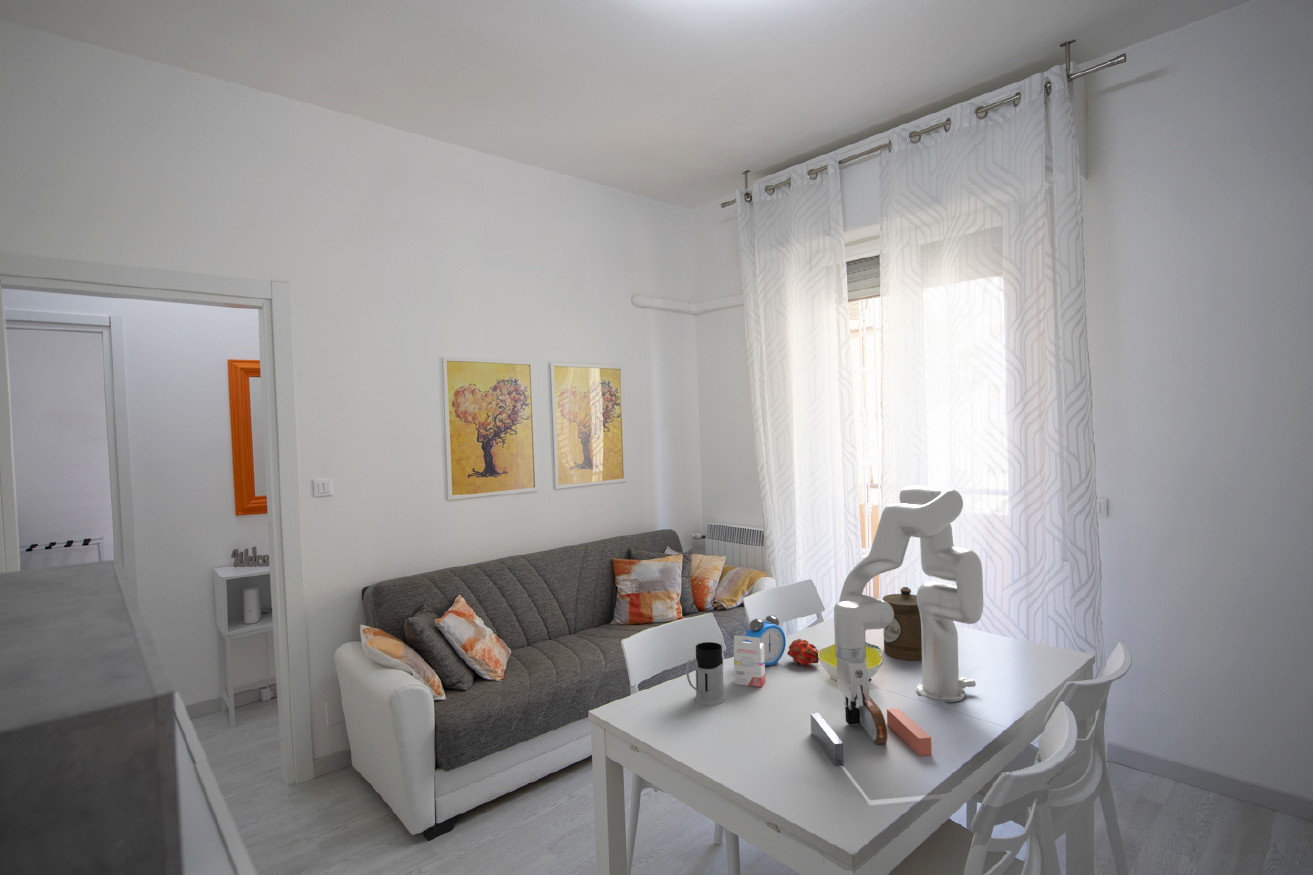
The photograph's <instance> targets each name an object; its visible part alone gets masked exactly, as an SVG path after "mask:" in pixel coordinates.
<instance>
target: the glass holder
mask: <svg viewBox="0 0 1313 875" xmlns="http://www.w3.org/2000/svg"><path fill="white" fill-rule="evenodd" d="M692 660H694V664H695V685H694V684H693V683H692V681H691V678H690V674H689V673H690V672H689V665H690V663H691V661H692ZM685 674H686V679H687V682H688V683H689V686H690V687H691V688H692V689H694V691H695V692H696V693H695V696H694V701H695V702H696V703H698V704H700V705H703V706H704V705H705V706H717V705H721V704H723V703H724V702H725V701H726V696H725V694H724V693H725V692H724V691H725V690H724V689H725V687H724V657H723V646H722V644H720V643H717V642H713V641H709V642H708V641H705V642H700V643H697V644H696V645H695V657H690V658H688V660H687V661H686V665H685Z"/></svg>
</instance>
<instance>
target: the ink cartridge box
mask: <svg viewBox="0 0 1313 875" xmlns="http://www.w3.org/2000/svg"><path fill="white" fill-rule="evenodd" d="M746 639H747V640H748V641H751V642H744V641H745V640H746ZM732 650H733V671H734V672H733V675H734V676H733V677H734V685H738V686H739V685H741V686H748V687H749V686H750V687H756V688H763V686H764V684H765V683H766V665H765V660H764V644H763V643H760V638H756V637H747V636H746V635H745V636H743V635H736V634H735V635H734V636H733V649H732Z"/></svg>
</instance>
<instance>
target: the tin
mask: <svg viewBox="0 0 1313 875" xmlns="http://www.w3.org/2000/svg"><path fill="white" fill-rule="evenodd" d="M862 700H863V708H860V724H859V725H861V726H862V727H863V728H864V730H865V732H866V733H867V734H868V736H870V739H872V741H873V742H874V744H876V745H878V744H880V745H881V744H887V743H888V729H887V722H886V719H885V716H884V713H883V712H882V710H881V708H880V707H879V706H878V704H877V703H876V702H875V701H874V699H873V698H872V697H871V696H870V699H869V700H868V701H867V700H865V699H864V698H863V697H862Z"/></svg>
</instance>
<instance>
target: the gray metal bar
mask: <svg viewBox="0 0 1313 875" xmlns="http://www.w3.org/2000/svg"><path fill="white" fill-rule="evenodd" d="M810 734H811V735H812V737H813V738H814V739H815V741H816V742H817V744H818V745H819V746H820V748H821V749H822V750H823V751H824V753H825V754H826V755H827V757H828V758H829V760H830V761H831V762H832V764H833V765H834V766H835V767H840V766H844V764H843V763H845V762H844V753H845V752H844V742H843V741H842V740H841V739H840V737H839V736H838V735H837V734H836V733H835V731H834V730H833V729H832V727H831V726H830V725H829V724H828V723H827V722H826V720H825V719H824V718H823V716H821V714H820V713H819V712H813V713H812V712H811V713H810Z"/></svg>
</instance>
